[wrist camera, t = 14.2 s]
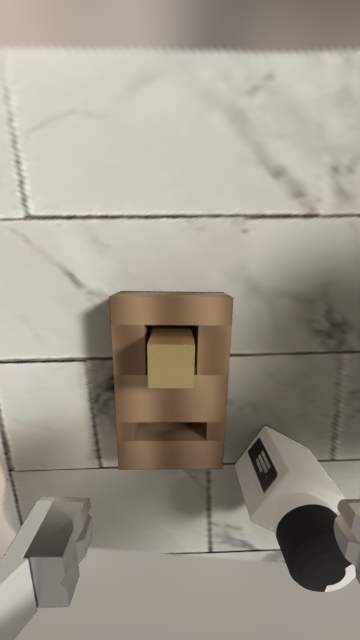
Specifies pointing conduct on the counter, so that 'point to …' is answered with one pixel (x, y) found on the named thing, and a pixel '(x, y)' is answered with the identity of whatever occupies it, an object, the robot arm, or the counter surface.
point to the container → (295, 508)
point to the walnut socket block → (170, 403)
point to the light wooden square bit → (171, 357)
